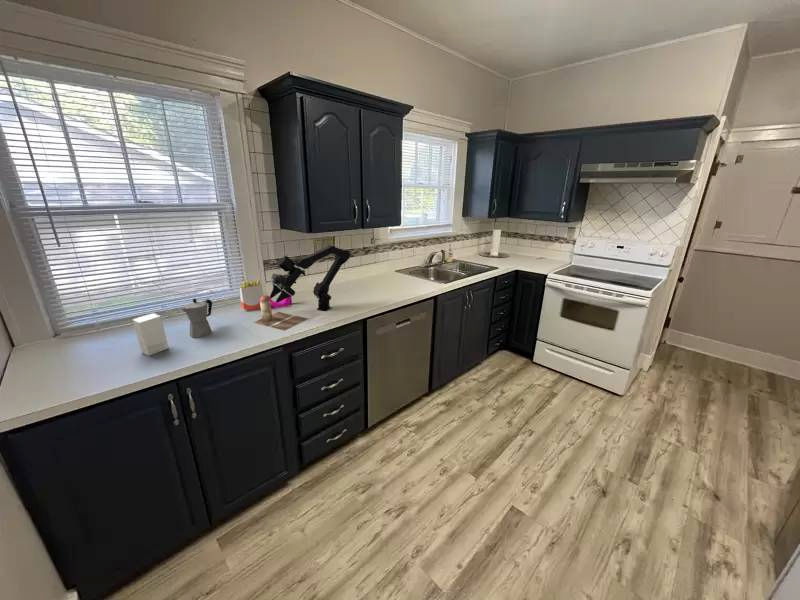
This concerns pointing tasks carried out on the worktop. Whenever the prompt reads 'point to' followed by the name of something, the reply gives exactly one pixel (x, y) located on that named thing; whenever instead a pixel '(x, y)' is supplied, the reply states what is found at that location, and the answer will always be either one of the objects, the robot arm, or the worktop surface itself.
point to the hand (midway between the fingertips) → (273, 300)
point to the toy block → (281, 303)
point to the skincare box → (150, 334)
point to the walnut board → (282, 321)
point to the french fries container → (250, 295)
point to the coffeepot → (198, 318)
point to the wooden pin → (265, 309)
